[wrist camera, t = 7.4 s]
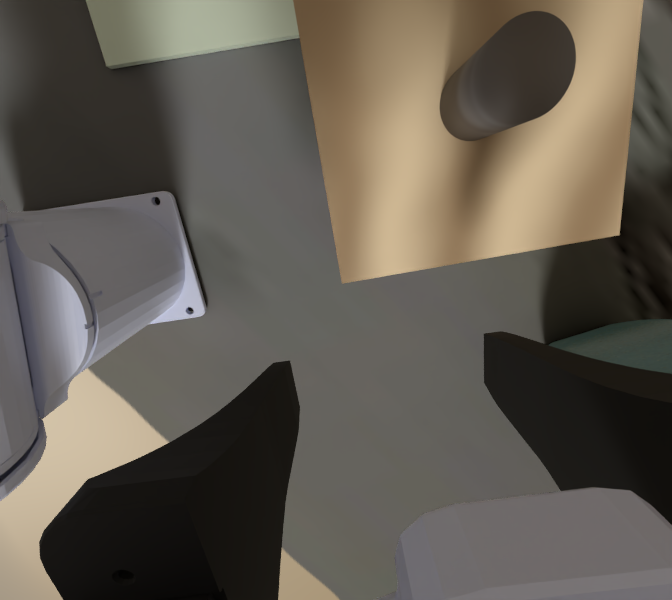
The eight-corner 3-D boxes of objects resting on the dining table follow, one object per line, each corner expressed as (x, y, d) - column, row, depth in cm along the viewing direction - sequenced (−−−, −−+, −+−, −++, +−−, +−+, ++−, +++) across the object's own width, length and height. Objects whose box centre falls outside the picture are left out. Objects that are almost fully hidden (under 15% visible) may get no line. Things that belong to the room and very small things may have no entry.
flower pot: (513, 328, 23) (624, 406, 14) (638, 288, 22) (832, 345, 14) (531, 424, 26) (634, 538, 17) (644, 390, 25) (809, 492, 16)
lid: (341, 279, 17) (346, 310, 13) (283, -56, 13) (259, -196, 8) (606, 233, 17) (711, 247, 12) (638, -129, 12) (818, -316, 8)
